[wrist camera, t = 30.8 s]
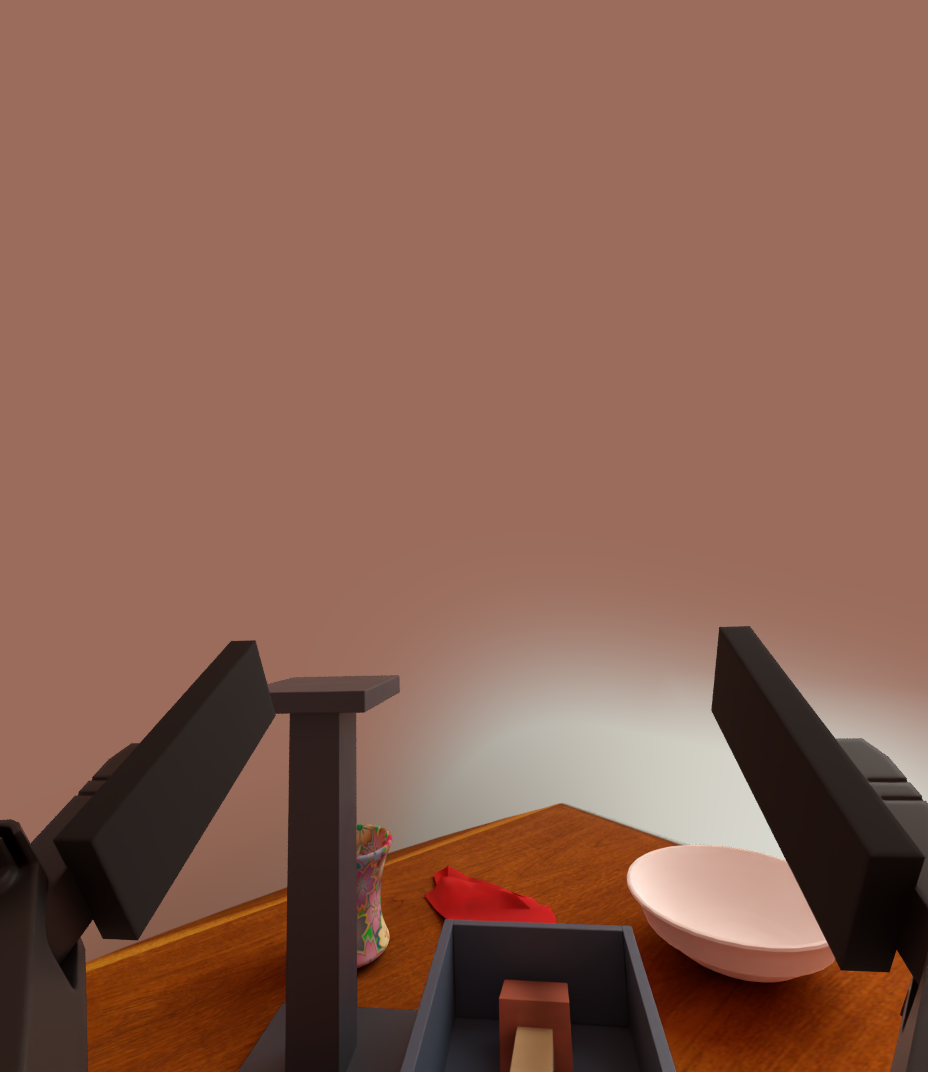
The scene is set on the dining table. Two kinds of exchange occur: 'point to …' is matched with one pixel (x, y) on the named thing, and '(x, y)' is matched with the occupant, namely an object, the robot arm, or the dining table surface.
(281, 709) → the stand
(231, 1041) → the dining table surface
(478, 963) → the bin
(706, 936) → the bowl
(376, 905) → the mug
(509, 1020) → the mallet
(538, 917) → the cloth
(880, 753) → the robot arm
